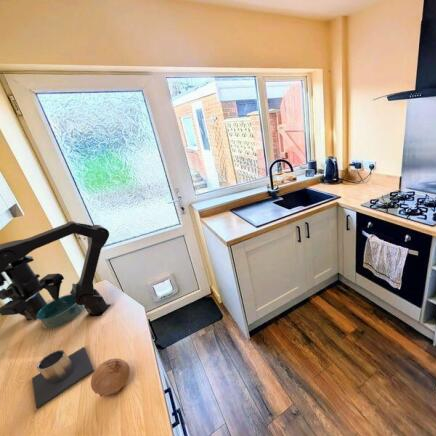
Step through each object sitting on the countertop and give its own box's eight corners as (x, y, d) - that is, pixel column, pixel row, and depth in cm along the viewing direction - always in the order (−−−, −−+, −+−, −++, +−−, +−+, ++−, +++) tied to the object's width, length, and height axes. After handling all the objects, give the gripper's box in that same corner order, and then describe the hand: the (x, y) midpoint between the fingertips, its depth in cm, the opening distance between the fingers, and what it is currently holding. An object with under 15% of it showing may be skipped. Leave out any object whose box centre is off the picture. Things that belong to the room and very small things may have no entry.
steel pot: (79, 363, 83) (69, 349, 80) (62, 383, 77) (51, 369, 74) (61, 364, 83) (50, 350, 80) (43, 384, 77) (30, 370, 74)
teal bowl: (92, 302, 112) (87, 293, 110) (66, 328, 99) (59, 318, 97) (63, 304, 113) (57, 295, 110) (33, 330, 100) (26, 320, 98)
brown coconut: (134, 383, 78) (139, 359, 76) (105, 410, 69) (110, 384, 67) (111, 368, 80) (116, 344, 77) (80, 392, 71) (84, 367, 69)
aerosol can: (23, 324, 104) (-6, 287, 95) (30, 312, 110) (4, 276, 102) (47, 316, 107) (21, 279, 98) (53, 304, 114) (30, 269, 105)
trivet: (33, 379, 80) (31, 378, 80) (84, 348, 89) (83, 346, 89) (37, 409, 71) (36, 407, 71) (94, 371, 80) (93, 369, 80)
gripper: (27, 263, 95) (48, 294, 101) (-31, 297, 78) (-1, 332, 84) (54, 260, 94) (74, 292, 101) (2, 294, 77) (30, 330, 84)
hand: (46, 309), depth 92 cm, fingers open, 9 cm apart
